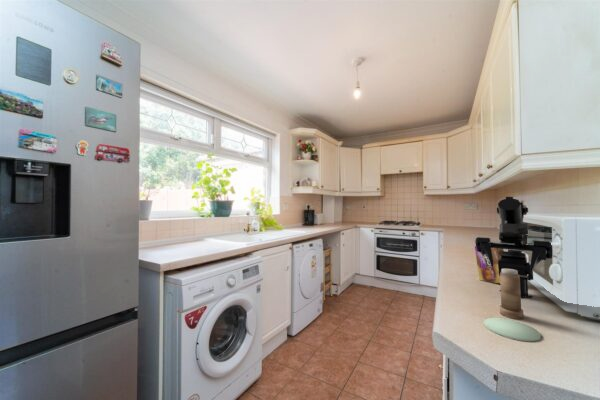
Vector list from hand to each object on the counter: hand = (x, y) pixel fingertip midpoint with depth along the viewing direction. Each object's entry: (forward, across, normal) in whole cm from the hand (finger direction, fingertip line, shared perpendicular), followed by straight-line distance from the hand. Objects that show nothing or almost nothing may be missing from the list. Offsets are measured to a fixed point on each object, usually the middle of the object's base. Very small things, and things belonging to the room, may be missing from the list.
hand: (510, 268), depth 75 cm
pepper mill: (+13, 0, +4) cm, 14 cm away
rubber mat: (+21, 0, -3) cm, 21 cm away
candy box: (-11, -7, +28) cm, 32 cm away
